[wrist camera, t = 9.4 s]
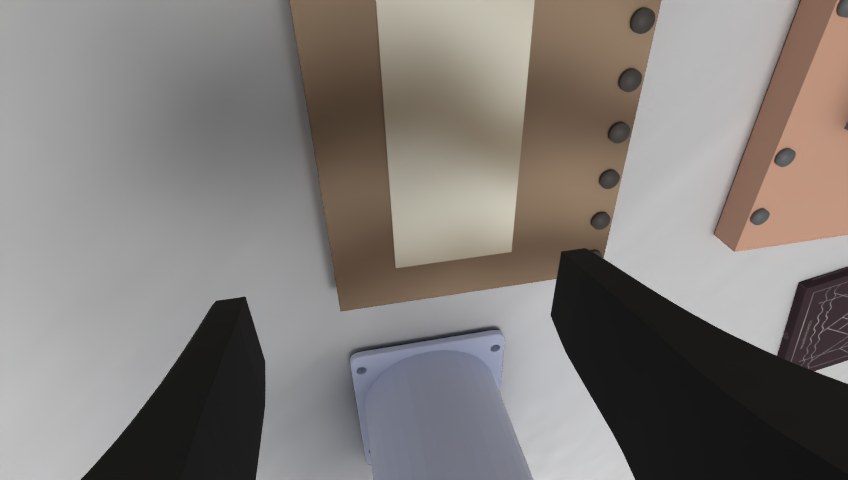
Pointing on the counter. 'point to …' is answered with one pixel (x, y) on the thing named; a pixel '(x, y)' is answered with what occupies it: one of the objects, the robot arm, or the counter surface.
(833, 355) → the chocolate bar
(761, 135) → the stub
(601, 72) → the board
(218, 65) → the counter surface
